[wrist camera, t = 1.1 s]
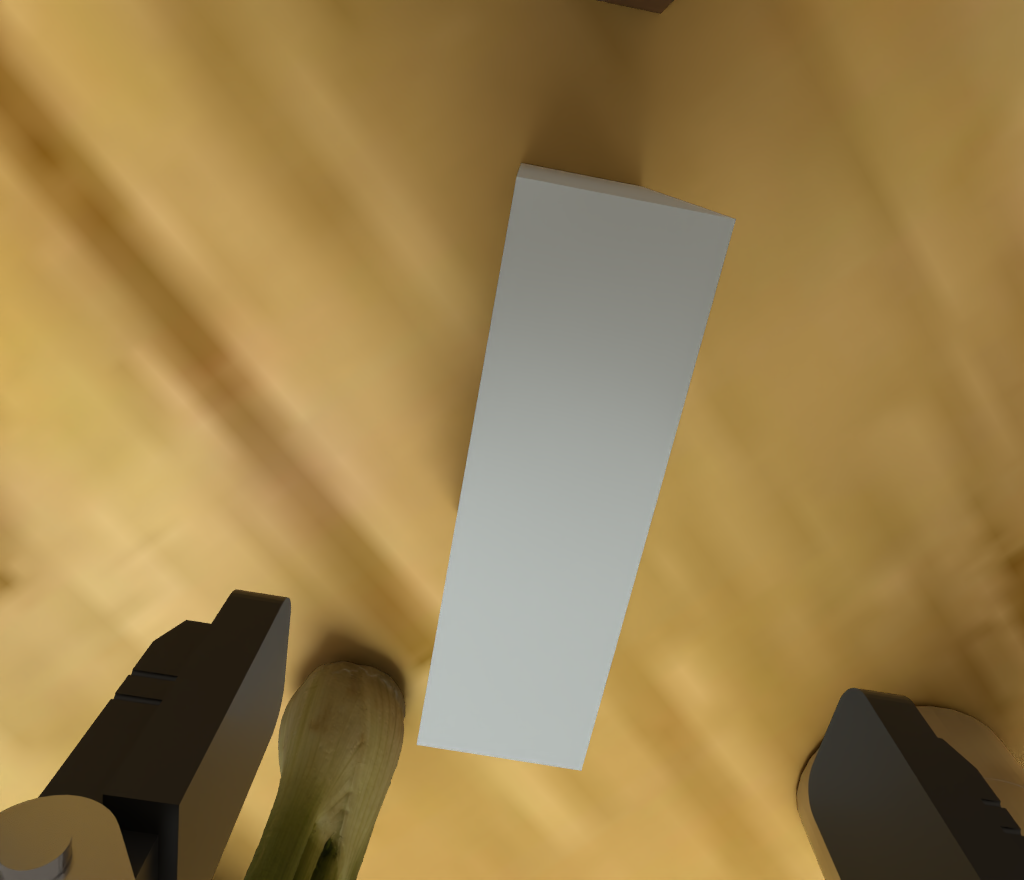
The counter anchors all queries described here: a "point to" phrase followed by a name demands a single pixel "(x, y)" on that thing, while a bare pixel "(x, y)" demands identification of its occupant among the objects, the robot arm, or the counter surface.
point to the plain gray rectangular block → (566, 458)
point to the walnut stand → (643, 4)
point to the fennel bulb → (331, 774)
